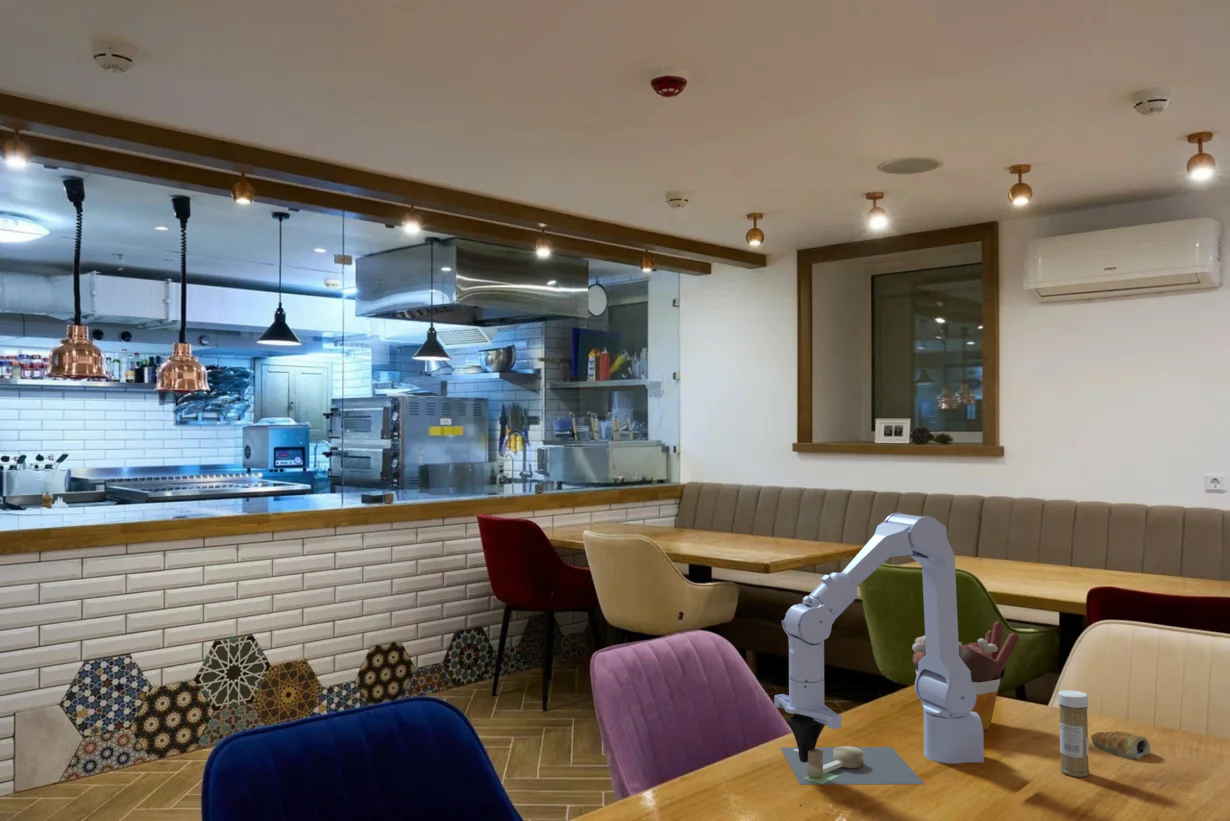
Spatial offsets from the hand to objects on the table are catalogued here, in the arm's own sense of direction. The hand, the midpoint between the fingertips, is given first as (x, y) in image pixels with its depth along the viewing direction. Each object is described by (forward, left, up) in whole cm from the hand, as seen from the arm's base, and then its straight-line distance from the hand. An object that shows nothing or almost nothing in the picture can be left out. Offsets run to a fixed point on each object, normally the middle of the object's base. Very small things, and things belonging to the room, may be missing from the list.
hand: (806, 761), depth 157 cm
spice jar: (-46, -3, -4) cm, 46 cm away
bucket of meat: (-37, -30, -4) cm, 48 cm away
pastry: (-60, -14, -4) cm, 61 cm away
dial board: (-8, -4, -3) cm, 10 cm away
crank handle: (-5, -2, -2) cm, 6 cm away
